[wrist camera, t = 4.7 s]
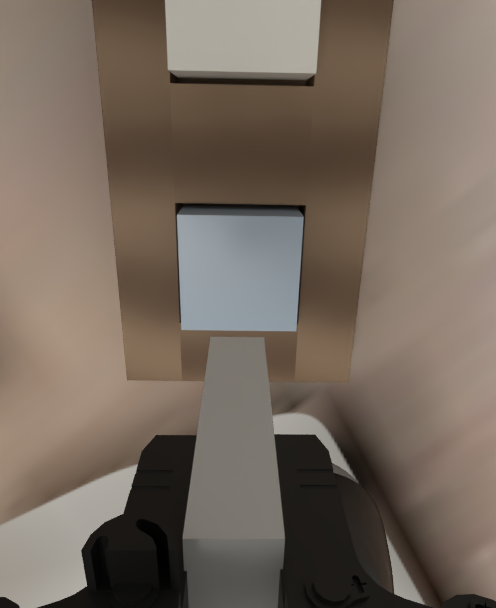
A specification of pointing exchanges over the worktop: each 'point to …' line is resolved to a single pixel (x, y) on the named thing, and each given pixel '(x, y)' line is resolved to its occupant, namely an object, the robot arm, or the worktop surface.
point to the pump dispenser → (365, 529)
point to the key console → (240, 179)
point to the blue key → (239, 266)
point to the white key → (243, 38)
